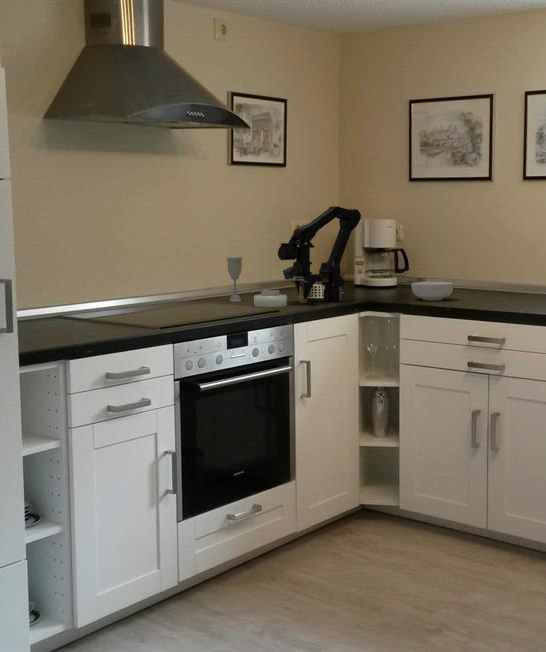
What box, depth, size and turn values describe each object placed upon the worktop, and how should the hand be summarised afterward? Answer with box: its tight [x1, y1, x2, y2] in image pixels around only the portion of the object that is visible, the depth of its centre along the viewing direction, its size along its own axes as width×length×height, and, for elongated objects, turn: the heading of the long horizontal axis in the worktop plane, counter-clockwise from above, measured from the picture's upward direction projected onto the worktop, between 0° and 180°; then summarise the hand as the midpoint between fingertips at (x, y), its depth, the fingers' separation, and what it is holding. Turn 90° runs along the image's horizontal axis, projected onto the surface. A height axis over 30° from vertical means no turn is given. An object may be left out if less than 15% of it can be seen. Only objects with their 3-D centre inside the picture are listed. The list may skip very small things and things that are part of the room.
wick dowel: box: [298, 284, 308, 304], centre depth 384 cm, size 3×3×8 cm
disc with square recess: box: [253, 289, 288, 308], centre depth 378 cm, size 13×13×6 cm
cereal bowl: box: [411, 281, 454, 302], centre depth 394 cm, size 17×17×7 cm
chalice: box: [226, 256, 244, 302], centre depth 398 cm, size 7×7×18 cm
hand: (303, 298), depth 385 cm, fingers closed on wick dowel, 3 cm apart
